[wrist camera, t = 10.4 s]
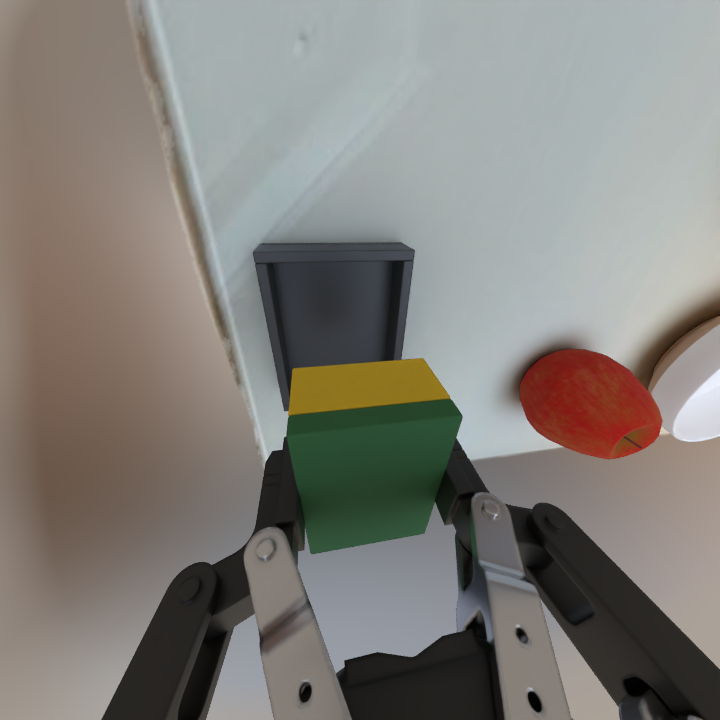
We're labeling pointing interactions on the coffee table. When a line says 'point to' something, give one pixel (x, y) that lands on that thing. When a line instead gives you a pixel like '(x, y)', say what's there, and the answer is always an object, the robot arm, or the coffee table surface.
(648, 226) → the coffee table surface
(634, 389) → the apple
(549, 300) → the coffee table surface
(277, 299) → the tray
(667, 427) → the bowl
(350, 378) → the sponge
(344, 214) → the coffee table surface
